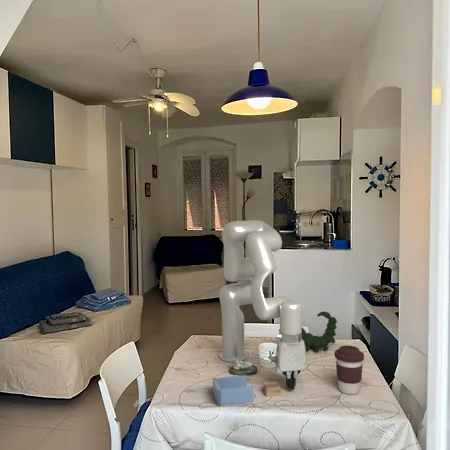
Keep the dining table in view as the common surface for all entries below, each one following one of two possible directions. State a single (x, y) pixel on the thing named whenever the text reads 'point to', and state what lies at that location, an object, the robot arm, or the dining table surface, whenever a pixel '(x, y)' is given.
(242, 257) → the robot arm
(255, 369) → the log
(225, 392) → the box
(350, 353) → the coffee cup
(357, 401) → the dining table surface
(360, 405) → the dining table surface
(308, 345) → the toy figurine
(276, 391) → the cardboard shipping box
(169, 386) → the dining table surface
